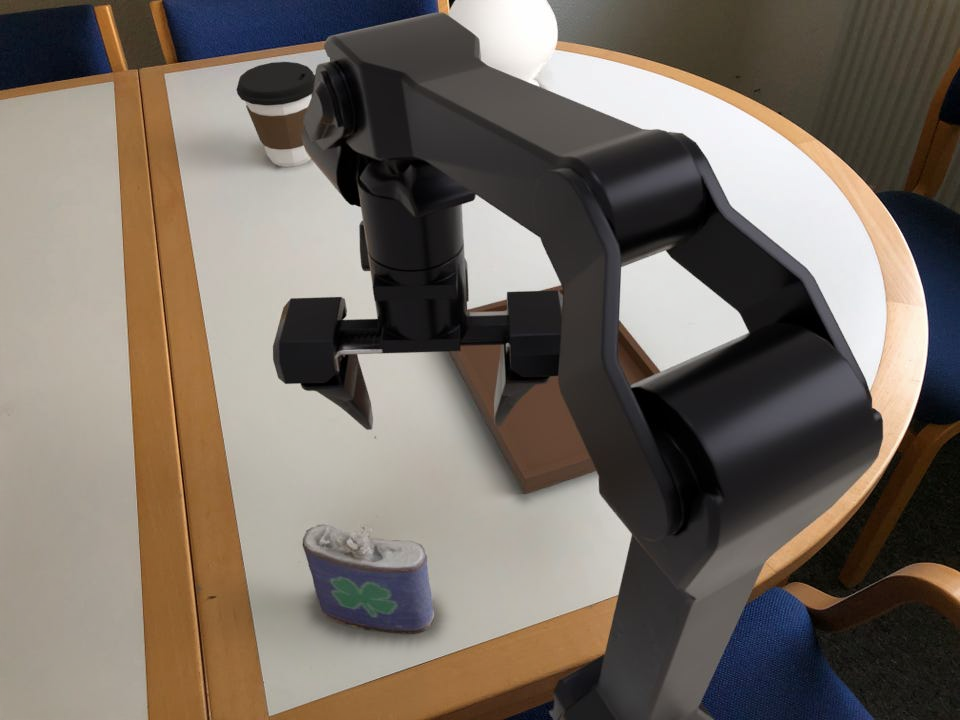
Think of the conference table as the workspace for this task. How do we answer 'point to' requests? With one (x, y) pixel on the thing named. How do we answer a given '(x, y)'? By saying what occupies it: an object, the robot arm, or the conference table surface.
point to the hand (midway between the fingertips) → (433, 423)
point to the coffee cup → (279, 108)
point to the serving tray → (539, 411)
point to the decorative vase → (511, 33)
